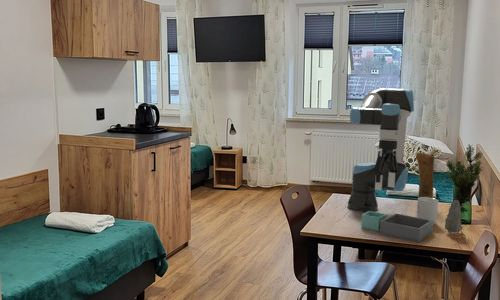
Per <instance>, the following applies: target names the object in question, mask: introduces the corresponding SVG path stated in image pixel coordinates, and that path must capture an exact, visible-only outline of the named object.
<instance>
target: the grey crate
mask: <svg viewBox="0 0 500 300" xmlns="http://www.w3.org/2000/svg"><path fill="white" fill-rule="evenodd" d="M433 226H434V224H433V221H432V220H427V219H422V218H417V216H411V215H405V214H399V213H394V214H392V215H390V216H387V217H386V219H384V220H382V221H381V223H380V231H379V234H381V235H385V236H389V237H393V238H398V239H401V240H402V239H403V240H406V241H410V242H411V241H412V242H416V243H420V242H421V241H423V240H424V239H425V238H427V237H428V236H430V235H432V233H433V229H434V228H433Z"/></svg>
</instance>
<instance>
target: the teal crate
mask: <svg viewBox="0 0 500 300" xmlns="http://www.w3.org/2000/svg"><path fill="white" fill-rule="evenodd" d="M387 217H388V215H387V214H386V213H381V212H378V211H377V212H376V211H365V212H364V213H362V214H361V224H360V225H361V226H360V228H361V229H366V230H371V231H375V232H380V223H381V221H382V220H384V219H386V218H387Z"/></svg>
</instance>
